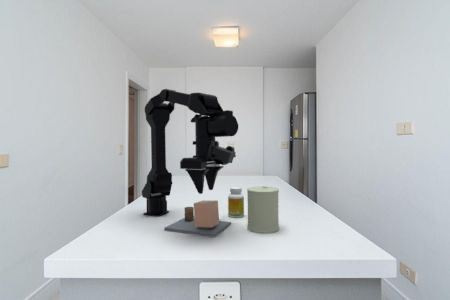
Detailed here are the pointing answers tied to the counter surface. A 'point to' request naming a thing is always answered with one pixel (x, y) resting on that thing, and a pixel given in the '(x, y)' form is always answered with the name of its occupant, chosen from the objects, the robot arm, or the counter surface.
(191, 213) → the walnut post
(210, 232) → the board
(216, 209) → the terracotta colored cuboid
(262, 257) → the counter surface
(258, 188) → the can
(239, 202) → the supplement bottle
